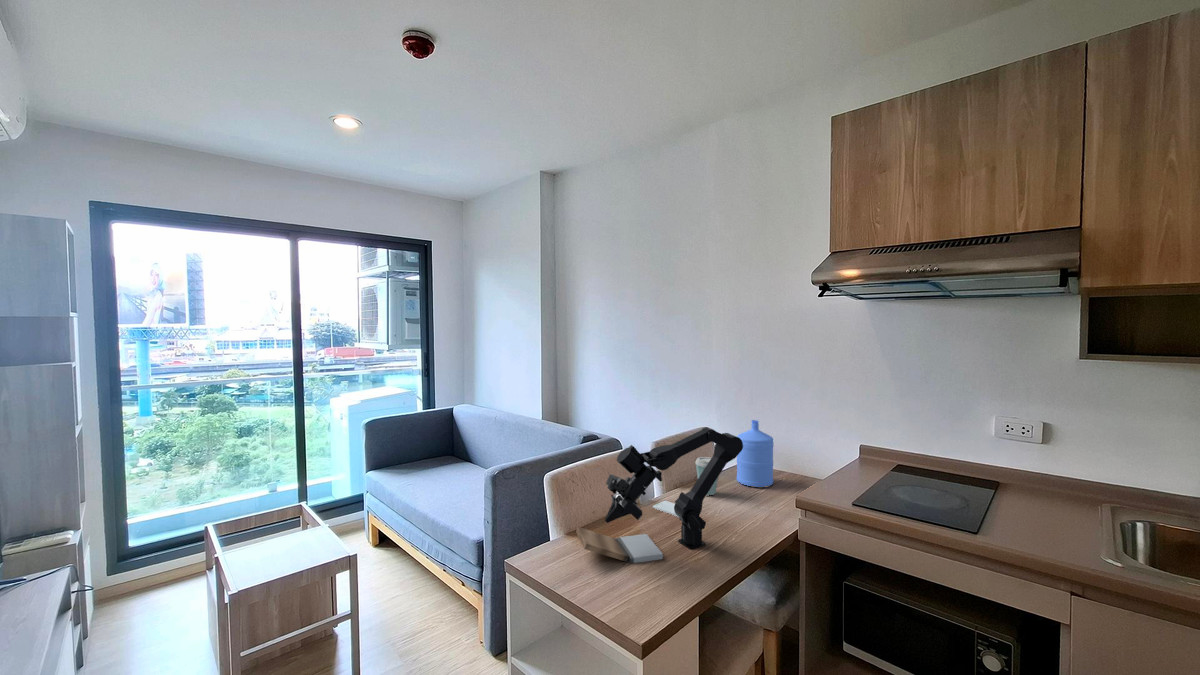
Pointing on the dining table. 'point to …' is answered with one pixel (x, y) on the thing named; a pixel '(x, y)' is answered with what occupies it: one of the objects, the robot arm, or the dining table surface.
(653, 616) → the dining table surface
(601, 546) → the plank
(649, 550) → the base board
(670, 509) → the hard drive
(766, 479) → the water jug
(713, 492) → the disposable coffee cup
